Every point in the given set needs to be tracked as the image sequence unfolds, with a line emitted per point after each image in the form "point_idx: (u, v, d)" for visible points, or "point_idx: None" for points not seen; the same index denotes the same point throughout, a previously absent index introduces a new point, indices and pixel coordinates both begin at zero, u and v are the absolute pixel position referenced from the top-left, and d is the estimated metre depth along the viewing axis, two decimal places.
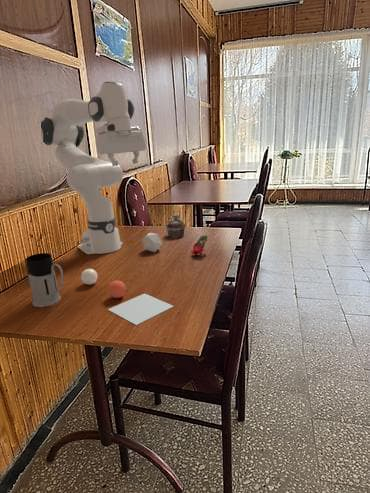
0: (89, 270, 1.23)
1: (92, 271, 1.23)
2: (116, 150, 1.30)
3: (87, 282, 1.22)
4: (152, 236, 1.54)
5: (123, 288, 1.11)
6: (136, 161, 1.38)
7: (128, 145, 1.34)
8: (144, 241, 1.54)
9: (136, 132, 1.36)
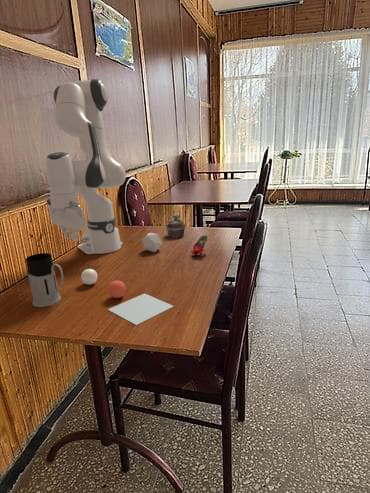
0: (89, 270, 1.23)
1: (92, 271, 1.23)
2: (58, 223, 1.27)
3: (87, 282, 1.22)
4: (152, 236, 1.54)
5: (123, 288, 1.11)
6: (72, 238, 1.24)
7: (65, 221, 1.23)
8: (144, 241, 1.54)
9: (69, 210, 1.18)
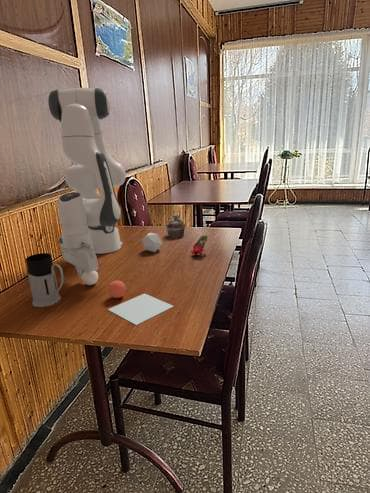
0: None
1: (93, 271, 1.23)
2: (70, 261, 1.27)
3: (88, 282, 1.22)
4: (152, 236, 1.54)
5: (123, 288, 1.11)
6: (80, 276, 1.25)
7: (77, 261, 1.22)
8: (144, 241, 1.54)
9: (81, 251, 1.18)
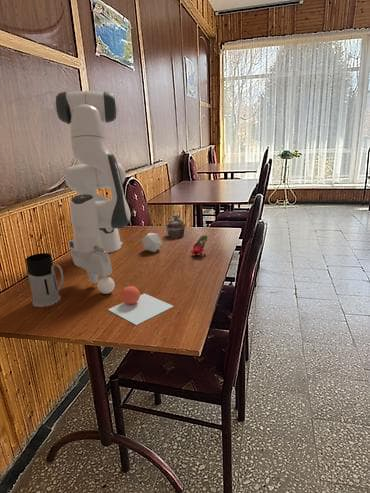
0: None
1: None
2: (81, 265, 1.23)
3: (99, 281, 1.15)
4: (152, 236, 1.54)
5: None
6: (92, 281, 1.21)
7: (89, 265, 1.18)
8: (144, 241, 1.54)
9: (94, 255, 1.14)
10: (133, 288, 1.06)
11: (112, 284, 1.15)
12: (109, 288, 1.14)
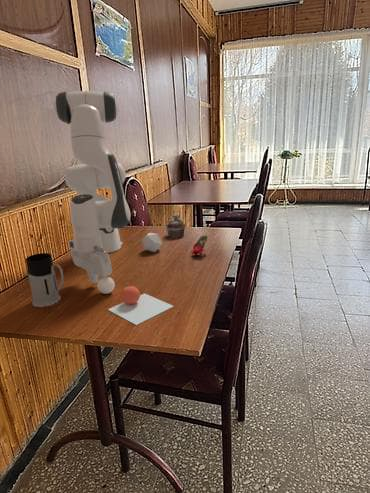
0: None
1: None
2: (81, 265, 1.23)
3: (99, 281, 1.15)
4: (152, 236, 1.54)
5: None
6: (92, 281, 1.21)
7: (89, 265, 1.18)
8: (144, 241, 1.54)
9: (94, 255, 1.14)
10: (133, 288, 1.06)
11: (112, 284, 1.15)
12: (109, 288, 1.14)
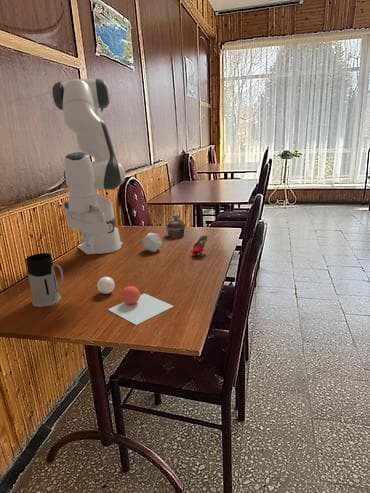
0: None
1: None
2: (76, 228, 1.19)
3: (99, 281, 1.15)
4: (152, 236, 1.54)
5: None
6: (88, 243, 1.18)
7: (84, 226, 1.15)
8: (144, 241, 1.54)
9: (89, 214, 1.10)
10: (133, 288, 1.06)
11: (112, 284, 1.15)
12: (109, 288, 1.14)
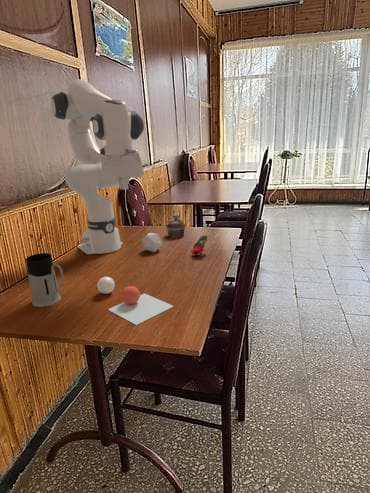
0: None
1: None
2: (111, 174, 1.27)
3: (99, 281, 1.15)
4: (152, 236, 1.54)
5: None
6: (123, 187, 1.26)
7: (120, 170, 1.22)
8: (144, 241, 1.54)
9: (126, 156, 1.18)
10: (133, 288, 1.06)
11: (112, 284, 1.15)
12: (109, 288, 1.14)
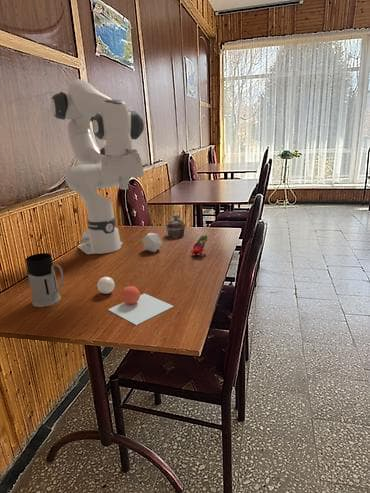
0: None
1: None
2: (111, 173, 1.27)
3: (99, 281, 1.15)
4: (152, 236, 1.54)
5: None
6: (123, 187, 1.26)
7: (120, 170, 1.22)
8: (144, 241, 1.54)
9: (126, 156, 1.18)
10: (133, 288, 1.06)
11: (112, 284, 1.15)
12: (109, 288, 1.14)
